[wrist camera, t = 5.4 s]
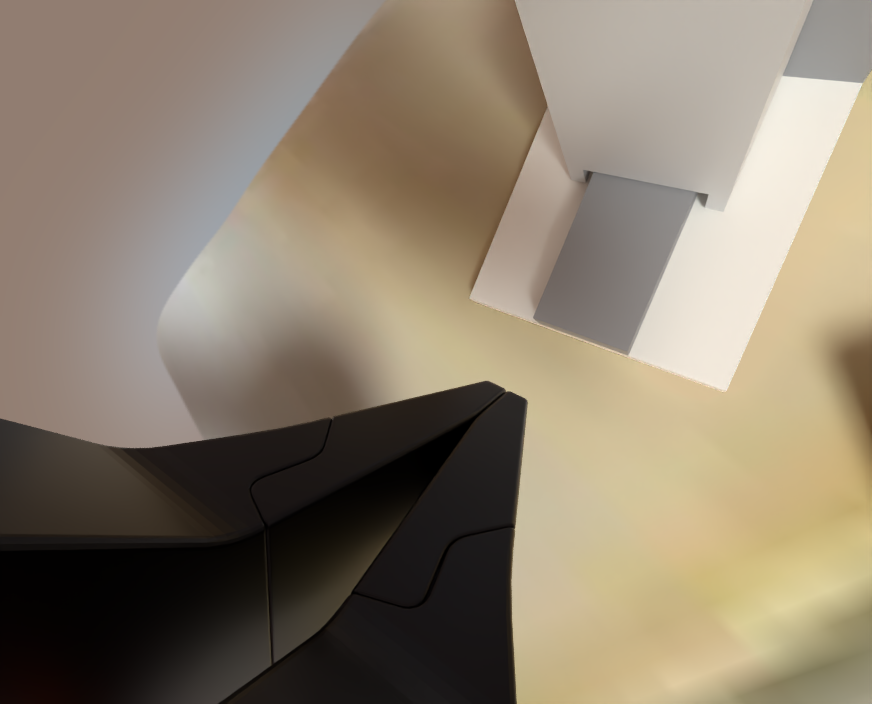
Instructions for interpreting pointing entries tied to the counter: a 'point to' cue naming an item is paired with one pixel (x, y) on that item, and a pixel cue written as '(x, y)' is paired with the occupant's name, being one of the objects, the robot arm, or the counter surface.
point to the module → (661, 84)
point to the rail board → (678, 225)
